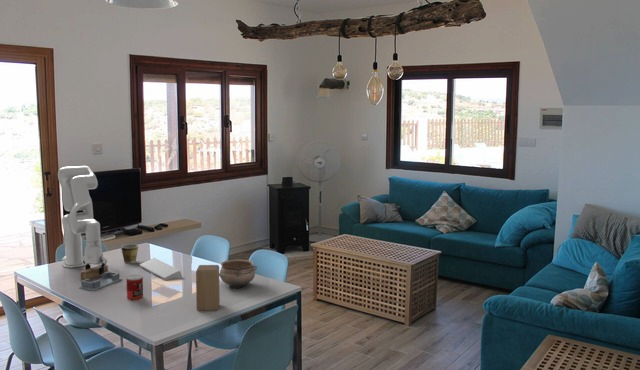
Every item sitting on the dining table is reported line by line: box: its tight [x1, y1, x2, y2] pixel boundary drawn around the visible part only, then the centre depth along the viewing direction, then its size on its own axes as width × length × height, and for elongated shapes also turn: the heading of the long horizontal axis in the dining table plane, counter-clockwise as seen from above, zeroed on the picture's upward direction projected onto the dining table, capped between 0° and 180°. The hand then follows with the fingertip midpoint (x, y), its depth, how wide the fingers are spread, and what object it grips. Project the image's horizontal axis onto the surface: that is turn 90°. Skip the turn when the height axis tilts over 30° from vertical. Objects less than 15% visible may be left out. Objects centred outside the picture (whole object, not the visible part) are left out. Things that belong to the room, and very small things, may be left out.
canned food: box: [126, 274, 144, 301], centre depth 281 cm, size 8×8×11 cm
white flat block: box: [139, 257, 183, 281], centre depth 327 cm, size 34×5×10 cm
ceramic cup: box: [120, 244, 139, 264], centre depth 347 cm, size 13×10×10 cm
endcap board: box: [78, 270, 123, 291], centre depth 303 cm, size 10×21×4 cm, turn 158°
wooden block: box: [195, 264, 220, 312], centre depth 268 cm, size 10×10×20 cm
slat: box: [80, 264, 109, 281], centre depth 316 cm, size 4×16×5 cm, turn 156°
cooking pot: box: [219, 258, 258, 288], centre depth 303 cm, size 25×19×12 cm
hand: (94, 273), depth 316 cm, fingers open, 9 cm apart
